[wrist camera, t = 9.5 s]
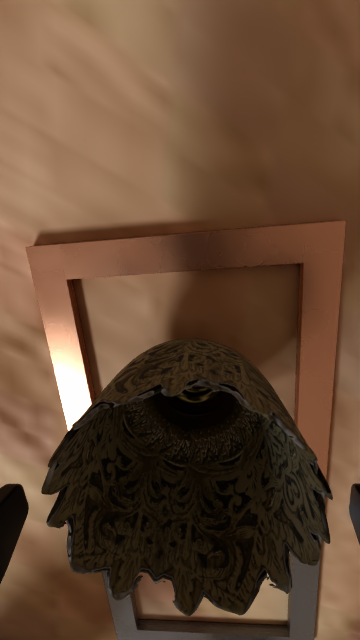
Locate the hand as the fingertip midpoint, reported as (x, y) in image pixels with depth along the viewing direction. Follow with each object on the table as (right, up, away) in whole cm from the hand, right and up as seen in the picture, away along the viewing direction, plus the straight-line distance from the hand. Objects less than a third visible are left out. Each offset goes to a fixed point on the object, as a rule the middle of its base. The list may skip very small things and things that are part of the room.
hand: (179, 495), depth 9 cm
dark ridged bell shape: (+1, +2, +7) cm, 8 cm away
